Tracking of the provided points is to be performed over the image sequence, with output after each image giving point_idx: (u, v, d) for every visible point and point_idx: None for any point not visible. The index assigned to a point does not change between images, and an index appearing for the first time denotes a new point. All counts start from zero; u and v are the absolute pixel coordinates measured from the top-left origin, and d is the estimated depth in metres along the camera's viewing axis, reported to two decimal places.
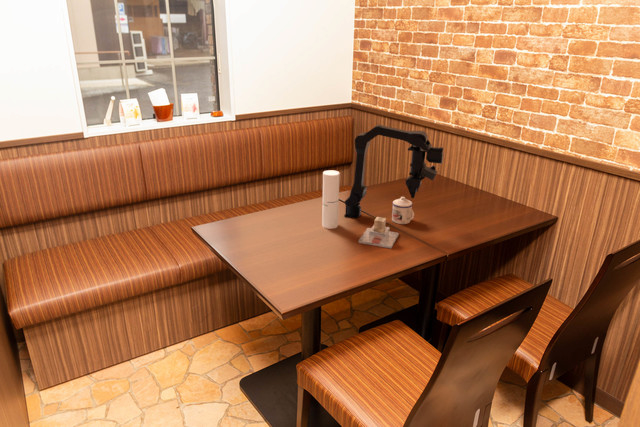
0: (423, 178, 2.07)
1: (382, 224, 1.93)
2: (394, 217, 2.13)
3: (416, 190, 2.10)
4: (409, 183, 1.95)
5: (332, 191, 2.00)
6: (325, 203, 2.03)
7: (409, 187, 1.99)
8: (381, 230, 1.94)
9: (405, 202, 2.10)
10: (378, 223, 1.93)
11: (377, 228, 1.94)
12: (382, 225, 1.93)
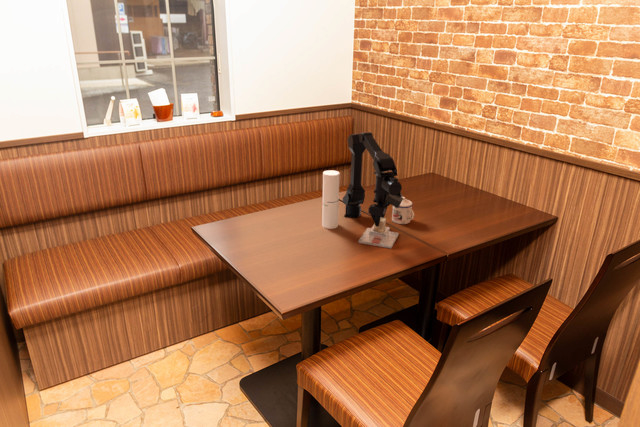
0: (389, 204, 1.96)
1: (382, 224, 1.93)
2: (394, 217, 2.13)
3: (382, 217, 1.99)
4: (372, 211, 1.84)
5: (332, 191, 2.00)
6: (325, 203, 2.03)
7: (373, 215, 1.88)
8: (381, 230, 1.94)
9: (405, 202, 2.10)
10: None
11: (377, 228, 1.94)
12: (382, 225, 1.93)
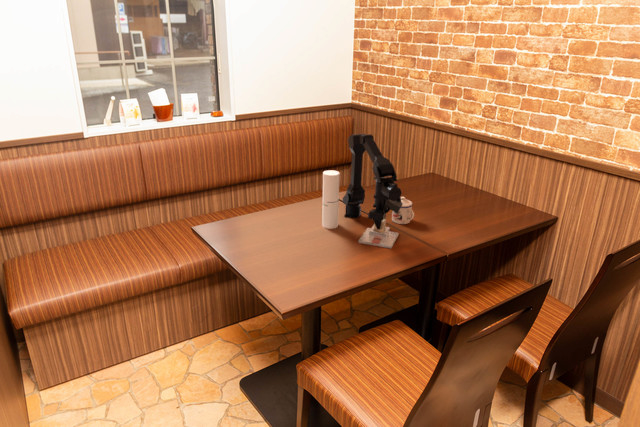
0: (387, 211, 1.95)
1: (382, 224, 1.93)
2: (394, 217, 2.13)
3: None
4: (372, 217, 1.85)
5: (332, 191, 2.00)
6: (325, 203, 2.03)
7: None
8: (381, 230, 1.94)
9: (405, 202, 2.10)
10: None
11: None
12: (382, 225, 1.93)
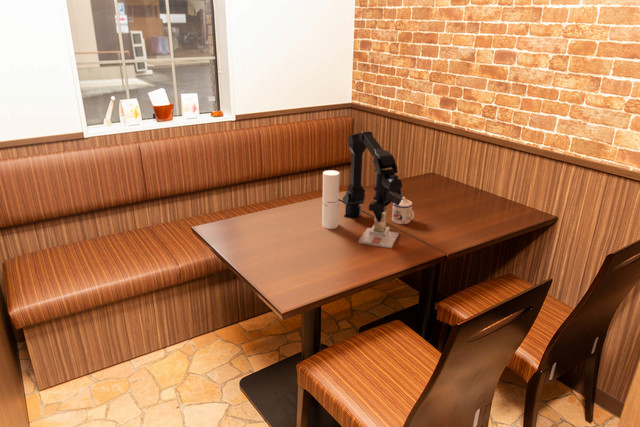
0: (388, 204, 1.93)
1: (382, 216, 1.91)
2: (394, 217, 2.13)
3: None
4: (372, 209, 1.84)
5: (332, 191, 2.00)
6: (325, 203, 2.03)
7: (374, 210, 1.90)
8: (382, 223, 1.93)
9: (405, 202, 2.10)
10: None
11: None
12: (383, 218, 1.92)
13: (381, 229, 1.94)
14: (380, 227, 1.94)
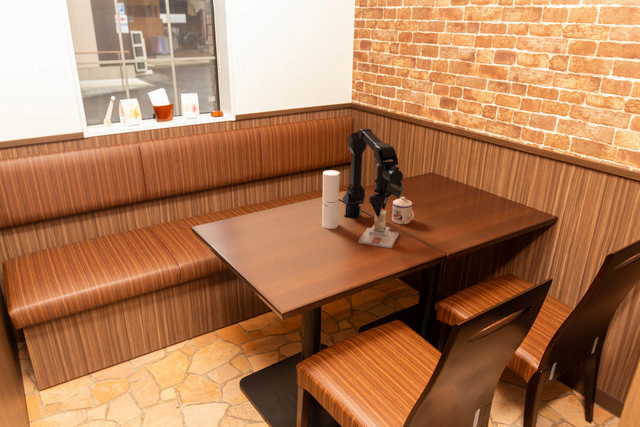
0: None
1: (382, 216, 1.91)
2: (394, 217, 2.13)
3: (383, 207, 1.97)
4: (373, 201, 1.82)
5: (332, 191, 2.00)
6: (325, 203, 2.03)
7: (373, 205, 1.86)
8: (382, 223, 1.93)
9: (405, 202, 2.10)
10: None
11: (378, 221, 1.93)
12: (383, 217, 1.92)
13: (381, 229, 1.94)
14: (380, 227, 1.94)
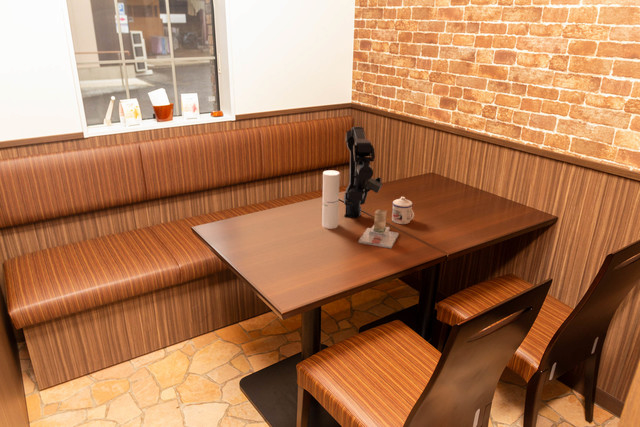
0: (369, 190, 1.97)
1: (382, 216, 1.91)
2: (394, 217, 2.13)
3: (362, 202, 1.99)
4: (351, 196, 1.85)
5: (332, 191, 2.00)
6: (325, 203, 2.03)
7: (352, 200, 1.89)
8: (382, 223, 1.93)
9: (405, 202, 2.10)
10: (379, 215, 1.92)
11: (378, 221, 1.93)
12: (383, 217, 1.92)
13: (381, 229, 1.94)
14: (380, 227, 1.94)
